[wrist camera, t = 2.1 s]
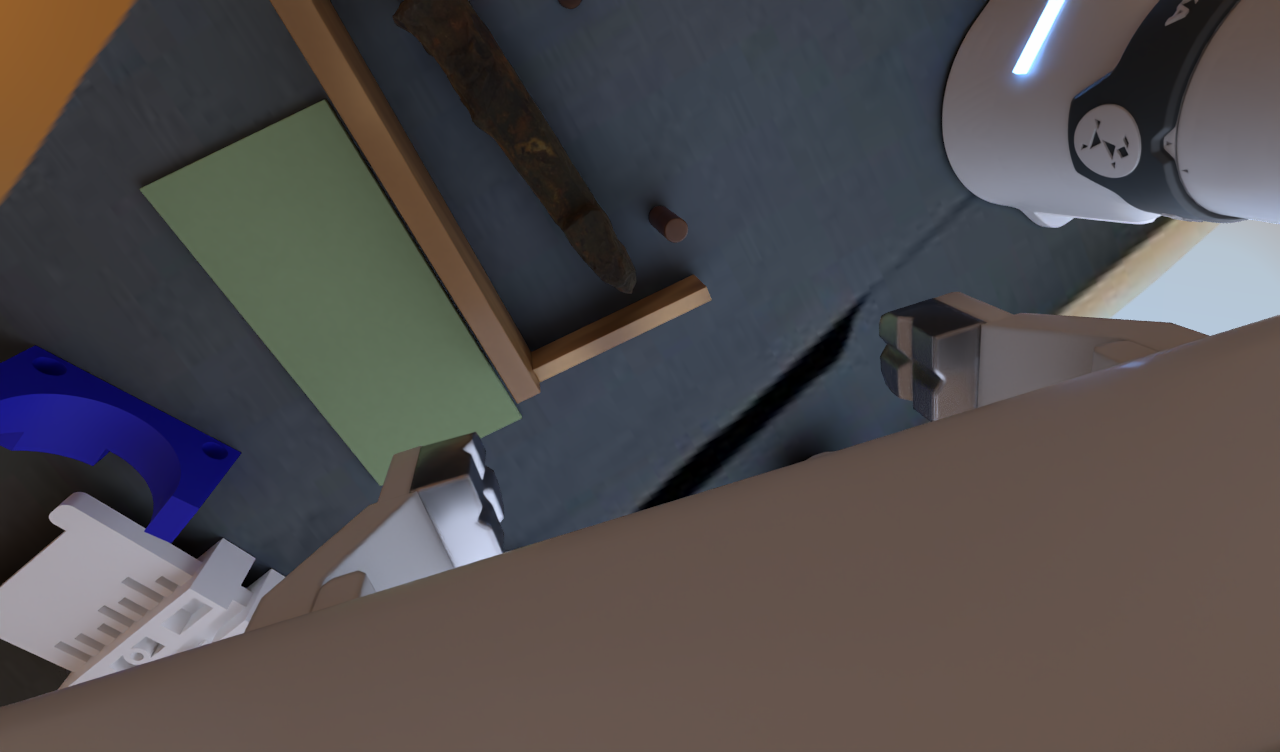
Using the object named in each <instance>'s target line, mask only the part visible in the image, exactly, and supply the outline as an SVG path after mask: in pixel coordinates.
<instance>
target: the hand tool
mask: <svg viewBox="0 0 1280 752" xmlns="http://www.w3.org/2000/svg"><path fill="white" fill-rule="evenodd" d="M393 20H394V22H395V24H396V25H397V26H399V27H401V28H403V29H404V30H406V31H408V32H410V33H412V34H413V35H414V36H415V37H416V38H417V39H418V40H419V41H420V42H421V44H422V45H423V47H424V49H425V50H426V52H427V53H428V54H429V55H431V56H433V57H434V58H435V59H436V61H437V62H438V63H439V65H440V66H441V68H442V70H443V71H444V72H445V74H446V75H447V78H448V79H449V81H450V83H451V84H452V86H453V88H454V90H455V91H456V92H457V94H458V95H459V96H460V100H461V101H462V103H463V104H464V105H465V106H466V107H467V109H468V110H469V112H470V115H471V118H472V121H473V122H474V124H475V125H476V126H477V127H479V128H480V129H482V130H483V131H485V132H486V133H487V134H489V135H490V136H491V137H492V138H494V139H495V141H496V142H497V143H498V145H499V146H500V147H501V149H502V150H503V152H504V153H505V154H506V156H507V157H508V159H509V160H510V161H511V162H512V164H513V165H514V167H515V168H516V169H517V171H518V172H519V173H520V174H521V176H522V177H523V178H524V180H525V181H526V182H527V183H528V185H529V186H530V187H531V189H532V190H533V192H534V193H535V195H536V196H537V197H538V198H539V199H540V201H541V203H542V204H543V205H544V206H545V208H546V209H547V211H548V213H549V214H550V216H551V217H552V219H553V220H554V222H555V223H556V224H557V225H558V226H560V228H561V229H562V230H563V232H564V233H565V235H566V236H567V238H568V240H569V242H570V243H571V245H572V246H573V248H574V249H575V250H576V251H577V252H578V254H579V255H580V256H581V258H582V259H583V260H584V261H585V262H586V263H587V264H588V265H589V266H590V267H591V269H592V270H593V271H594V272H595V273H596V274H597V275H598V276H599V277H600V278H601V279H602V280H603V281H604V282H605V283H608V284H610V285H612V286H614V287H615V288H616V289H617V290H619V291H621V292H624V293H628V294H631V293H632V291H633V288H634V286H635V284H636V282H637V280H636V273H635V268H634V266H633V264H632V262H631V259H630V257H629V255H628V253H627V251H626V248H625V246H624V245H623V244H622V243H621V242H620V241H619V240H618V239H617V237H616V235H615V232H614V231H613V227H612V224H611V222H610V220H609V218H608V216H607V215H606V213H605V212H604V211H603V210H602V209H601V207H600V206H599V205H598V203H597V202H596V200H595V198H594V197H593V195H592V193H591V192H590V190H589V188H588V187H587V185H586V184H585V182H584V181H583V179H582V178H581V176H580V174H579V173H578V171H577V170H576V169H575V167H574V165H573V164H572V162H571V160H570V159H569V157H568V155H567V154H566V152H565V150H564V149H563V147H562V145H561V144H560V142H559V140H558V139H557V137H556V135H555V134H554V132H553V131H552V129H551V127H550V126H549V124H548V123H547V121H546V120H545V119H544V117H543V115H542V113H541V111H540V110H539V108H538V107H537V105H536V104H535V103H534V101H533V100H532V98H531V97H530V95H529V93H528V92H527V90H526V89H525V87H524V86H523V84H522V82H521V81H520V79H519V77H518V76H517V74H516V72H515V71H514V69H513V68H512V66H511V65H510V63H509V62H508V61H507V59H506V58H505V56H504V54H503V53H502V51H501V49H500V48H499V46H498V44H497V43H496V41H495V40H494V38H493V36H492V34H491V33H490V31H489V29H488V28H487V27H486V25H485V24H484V23H483V22H482V20H481V19H480V18H479V17H478V15H477V14H476V12H475V11H474V9H473V8H472V6H471V5H470V3H469V2H468V0H404V1H403V2H402V3H401V4H400V6H399V9H398V10H397V11H396V13H395V14H394V15H393Z"/></svg>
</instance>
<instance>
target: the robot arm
mask: <svg viewBox="0 0 1280 752" xmlns="http://www.w3.org/2000/svg"><path fill="white" fill-rule="evenodd" d="M942 131H943V140H944V145H945V150H946V153H947V156H948V159H949V162H950V164H951V166H952V169H953V170H954V172H955V174H956V176H957V177H958V178H959V180H960V181H961V182H962V184H963V185H964V186H965V187H966V188H967V189H968V190H969V191H971V192H972V193H973V194H975V195H976V196H978V197H979V198H981V199H983V200H986V201H988V202H991V203H995V204H999V205H1005V206H1010V207H1014V208H1017V209H1019V210H1021V211H1022V212H1023V213H1024V214H1025V215H1026V216H1027V217H1028V218H1029V219H1030V220H1032V221H1033V222H1034V223H1036V224H1037V225H1039V226H1043V227H1052V228H1057V227H1060V226H1062V225H1064V224H1066V223H1067V222H1069V221H1070V220H1072V219H1073V218H1082V219H1091V220H1101V221H1110V222H1120V223H1130V224H1146V223H1151V222H1153V221H1154V220H1155V219H1156V218H1157V217H1159V216H1161V215H1162V216H1165V217H1170V218H1172V219H1177V220H1184V221H1191V222H1192V221H1195V222H1203V221H1207V222H1216V223H1232V222H1239V221H1243V220H1248V219H1252V220H1257V221H1263V222H1269V223H1276V224H1280V0H990V1H989V2H988V4H987V5H986V7H985V8H984V9H983V11H982V12H981V14H980V15H979V16H978V18H977V19H976V21H975V22H974V23H973V25H972V27H971V28H970V30H969V31H968V33H967V35H966V37H965V38H964V40H963V42H962V44H961V46H960V48H959V50H958V52H957V55H956V57H955V59H954V62H953V65H952V68H951V70H950V74H949V77H948V80H947V85H946V89H945V94H944V100H943V110H942ZM879 336H880V337H881V338H882V339H883V341H884V342H885V343H886V344H887V345H886V347H885V349H884V350H883V352H882V354H881V356H880V361H881V372H882V375H883V377H884V380H885V383H886V385H887V386H888V387H889V389H890V390H891V391H892V392H893V393H894V394H895V395H896V396H898V397H899V398H902V399H906V400H911V401H913V409H914V410H916V411H917V412H918V413H920V414H921V415H922V416H924V417H925V418H926V419H928V420H929V421H930V422H929V423H926V424H923V425H920V426H916V427H913V428H910V429H907V430H903V431H900V432H897V433H894V434H890V435H887V436H884V437H881V438H877V439H874V440H871V441H868V442H864V443H861V444H858V445H855V446H851V447H848V448H845V449H842V450H838V451H835V452H832V453H828V454H825V455H822V456H819V457H815V458H812V459H809V460H806V461H802V462H799V463H796V464H793V465H789V466H786V467H783V468H779V469H776V470H773V471H770V472H766V473H763V474H760V475H757V476H753V477H750V478H747V479H744V480H740V481H737V482H734V483H731V484H727V485H724V486H721V487H717V488H714V489H711V490H708V491H704V492H701V493H698V494H695V495H691V496H688V497H685V498H682V499H678V500H675V501H672V502H668V503H665V504H662V505H659V506H655V507H652V508H649V509H646V510H642V511H639V512H636V513H633V514H629V515H626V516H623V517H619V518H616V519H613V520H610V521H606V522H603V523H600V524H597V525H593V526H590V527H587V528H584V529H580V530H577V531H574V532H570V533H567V534H564V535H561V536H557V537H554V538H551V539H548V540H544V541H541V542H538V543H535V544H531V545H528V546H525V547H521V548H518V549H515V550H512V551H508V552H505V553H503V549H504V532H503V530H502V527H501V525H500V522H501V521H502V519H503V518H504V505H503V499H502V493H501V490H500V487H499V483H498V480H497V478H496V475H495V473H494V470H492V469H490V468H489V467H487V466H485V460H486V450H485V448H484V446H483V443H482V441H481V439H480V436H479V435H478V434H477V433H476V432H472V433H468V434H465V435H461V436H457V437H453V438H450V439H446V440H442V441H439V442H435V443H431V444H428V445H424V446H418V447H415V448H412V449H409V450H406V451H403V452H400V453H397V454H394V455H393V457H392V460H391V463H390V466H389V469H388V472H387V475H386V478H385V481H384V484H383V487H382V490H381V493H380V496H379V499H378V502H377V503H375V504H371V505H369V506H368V507H366V508H365V509H364V510H363V511H362V512H361V513H359V514H358V515H357V516H356V517H355V518H354V519H352V520H351V521H350V522H349V523H348V524H347V525H345V526H344V527H343V528H342V529H341V530H340V531H338V532H337V533H336V534H335V535H334V536H333V537H332V538H330V539H329V540H328V541H327V542H326V543H325V544H323V545H322V546H321V547H320V548H319V549H318V550H316V551H315V552H314V553H313V554H312V555H311V556H309V557H308V558H307V559H306V560H305V561H304V562H302V563H301V564H300V565H299V566H298V567H297V568H296V569H294V570H293V571H292V572H291V573H290V574H289V575H287V576H286V577H285V578H284V579H283V580H282V581H280V582H279V583H278V584H277V585H276V586H275V587H273V588H272V589H271V590H270V591H269V592H268V593H266V594H265V595H264V596H263V597H262V598H261V600H260V602H259V604H258V606H257V608H256V610H255V612H254V614H253V616H252V618H251V620H250V621H249V623H248V625H247V627H246V629H245V631H244V633H242V634H239V635H235V636H232V637H229V638H226V639H222V640H219V641H216V642H213V643H209V644H206V645H203V646H200V647H196V648H193V649H190V650H187V651H183V652H180V653H177V654H174V655H170V656H167V657H164V658H160V659H157V660H154V661H151V662H147V663H144V664H141V665H138V666H134V667H131V668H128V669H125V670H121V671H118V672H115V673H112V674H108V675H105V676H102V677H99V678H95V679H92V680H89V681H86V682H82V683H79V684H76V685H73V686H69V687H66V688H63V689H59V690H56V691H53V692H50V693H46V694H43V695H40V696H37V697H33V698H30V699H27V700H24V701H20V702H17V703H14V704H10V705H6V706H3V707H0V752H1280V315H1277V316H1274V317H1271V318H1268V319H1264V320H1261V321H1258V322H1255V323H1251V324H1248V325H1245V326H1242V327H1239V328H1235V329H1232V330H1229V331H1225V332H1222V333H1219V334H1216V335H1212V336H1209V335H1205V334H1202V333H1200V332H1197V331H1194V330H1191V329H1188V328H1185V327H1182V326H1179V325H1176V324H1173V323H1165V322H1151V321H1136V320H1121V319H1106V318H1091V317H1076V316H1061V315H1046V314H1031V313H1019V314H1016V315H1013V314H1011V313H1008V312H1006V311H1003V310H1001V309H999V308H996V307H994V306H991V305H989V304H987V303H984V302H982V301H980V300H977V299H975V298H972V297H970V296H968V295H965V294H963V293H960V292H951V293H948V294H945V295H942V296H939V297H936V298H932V299H928V300H925V301H922V302H919V303H916V304H913V305H909V306H906V307H903V308H900V309H897V310H893V311H890V312H888V313H886V314H884V315H882V316H881V319H880V323H879Z"/></svg>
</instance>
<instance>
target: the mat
mask: <svg viewBox="0 0 1280 752" xmlns="http://www.w3.org/2000/svg"><path fill="white" fill-rule="evenodd" d="M140 191H141V192H142V193H143V194H144V196H145V197H146V198H147V199H148V200H149V202H150V203H151V204H152V205H153V207H154V208H155V209H156V210H157V212H158V213H159V214H160V215H161V217H162V218H163V219H164V220H165V221H166V223H167V224H168V225H169V226H170V228H171V229H172V230H173V231H174V233H175V234H176V235H177V236H178V237H179V239H180V240H181V241H182V242H183V244H184V245H185V246H186V247H187V249H188V250H189V251H190V252H191V253H192V255H193V256H194V257H195V258H196V260H197V261H198V262H199V263H200V265H201V266H202V267H203V268H204V269H205V271H206V272H207V273H208V274H209V276H210V277H211V278H212V279H213V281H214V282H215V283H216V284H217V286H218V287H219V288H220V289H221V290H222V292H223V293H224V294H225V295H226V297H227V298H228V299H229V300H230V302H231V303H232V304H233V305H234V306H235V308H236V309H237V310H238V311H239V313H240V314H241V315H242V316H243V318H244V319H245V320H246V321H247V322H248V324H249V325H250V326H251V327H252V329H253V330H254V331H255V332H256V334H257V335H258V336H259V337H260V338H261V340H262V341H263V342H264V343H265V345H266V346H267V347H268V348H269V350H270V351H271V352H272V353H273V354H274V356H275V357H276V358H277V359H278V361H279V362H280V363H281V364H282V366H283V367H284V368H285V369H286V371H287V372H288V373H289V374H290V375H291V377H292V378H293V379H294V380H295V382H296V383H297V384H298V385H299V387H300V388H301V389H302V390H303V391H304V393H305V394H306V395H307V396H308V398H309V399H310V400H311V401H312V403H313V404H314V405H315V406H316V407H317V409H318V410H319V411H320V412H321V414H322V415H323V416H324V417H325V419H326V420H327V421H328V422H329V423H330V425H331V426H332V427H333V428H334V430H335V431H336V432H337V433H338V435H339V436H340V437H341V438H342V439H343V441H344V442H345V443H346V444H347V446H348V447H349V448H350V449H351V451H352V452H353V453H354V454H355V456H356V457H357V458H358V459H359V460H360V462H361V463H362V464H363V465H364V467H365V468H366V469H367V470H368V472H369V473H370V474H371V475H372V476H373V478H374V479H375V480H376V481H377V483H378V484H379V485H380V486H381V485H383V484H384V481H385V478H386V475H387V472H388V469H389V466H390V463H391V460H392V457H393V455H394V454H397V453H400V452H403V451H406V450H409V449H412V448H415V447H418V446H424V445H428V444H431V443H435V442H439V441H442V440H446V439H450V438H453V437H457V436H461V435H465V434H468V433H472V432H476V433H477V434H478V435H479V436H480V438H482V437H484V436H486V435H488V434H490V433H492V432H494V431H496V430H498V429H501V428H503V427H505V426H507V425H509V424H511V423H513V422H515V421H517V420H519V419H521V418H522V415H521V414H520V412H519V411H518V409H517V407H516V406H515V404H514V402H513V401H512V399H511V398H510V396H509V394H508V393H507V391H506V389H505V388H504V386H503V385H502V383H501V381H500V380H499V378H498V376H497V375H496V373H495V372H494V370H493V368H492V367H491V365H490V364H489V362H488V360H487V359H486V357H485V355H484V354H483V352H482V351H481V349H480V347H479V346H478V344H477V342H476V341H475V339H474V338H473V336H472V334H471V333H470V331H469V330H468V328H467V326H466V325H465V323H464V321H463V320H462V318H461V317H460V315H459V313H458V312H457V310H456V308H455V307H454V305H453V304H452V302H451V300H450V299H449V297H448V295H447V294H446V292H445V291H444V289H443V287H442V286H441V284H440V283H439V281H438V279H437V278H436V276H435V274H434V273H433V271H432V270H431V268H430V266H429V265H428V263H427V261H426V260H425V258H424V257H423V255H422V253H421V252H420V250H419V249H418V247H417V245H416V244H415V242H414V240H413V239H412V237H411V236H410V234H409V232H408V231H407V229H406V227H405V226H404V224H403V223H402V221H401V219H400V218H399V216H398V214H397V213H396V211H395V210H394V208H393V206H392V205H391V203H390V202H389V200H388V198H387V197H386V195H385V193H384V192H383V190H382V189H381V187H380V185H379V184H378V182H377V180H376V179H375V177H374V176H373V174H372V172H371V171H370V169H369V168H368V166H367V164H366V163H365V161H364V159H363V158H362V156H361V155H360V153H359V151H358V150H357V148H356V146H355V145H354V143H353V142H352V140H351V138H350V137H349V135H348V133H347V132H346V130H345V129H344V127H343V125H342V124H341V122H340V121H339V119H338V117H337V116H336V114H335V112H334V111H333V109H332V108H331V106H330V104H329V103H328V101H327V100H326V99H325V100H322V101H320V102H318V103H316V104H314V105H311V106H309V107H307V108H305V109H303V110H301V111H299V112H297V113H295V114H293V115H291V116H289V117H287V118H285V119H283V120H280V121H278V122H276V123H274V124H272V125H270V126H268V127H266V128H264V129H262V130H260V131H258V132H256V133H254V134H252V135H249V136H247V137H245V138H243V139H241V140H239V141H237V142H235V143H233V144H231V145H229V146H227V147H225V148H223V149H221V150H218V151H216V152H214V153H212V154H210V155H208V156H206V157H204V158H202V159H200V160H198V161H196V162H194V163H192V164H190V165H187V166H185V167H183V168H181V169H179V170H177V171H175V172H173V173H171V174H169V175H167V176H165V177H163V178H161V179H159V180H157V181H154V182H152V183H150V184H148V185H146V186H144V187H142V188H140Z"/></svg>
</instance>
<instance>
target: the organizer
mask: <svg viewBox="0 0 1280 752" xmlns="http://www.w3.org/2000/svg"><path fill="white" fill-rule="evenodd" d="M49 519H50V521H51V522H52V523H53V524H55V525H56V526H58V527H60V528H62V529H64V530H65V531H64V532H63V533H62V534H60V535H59V536H58V537H57V538H56V539H55V540H53V541H52V542H51V543H50V544H49V545H48V546H46V547H45V548H44V549H43V550H42V551H40V552H39V553H38V554H37V555H36V556H35V557H33V558H32V559H31V560H30V561H29V562H28V563H26V564H25V565H24V566H23V567H22V568H21V569H19V570H18V571H17V572H16V573H15V574H13V575H12V576H11V577H10V578H9V579H8V580H6V581H5V582H4V583H3V584H2V585H1V586H0V639H3V640H5V641H7V642H9V643H11V644H13V645H16V646H18V647H20V648H22V649H24V650H26V651H28V652H31V653H33V654H35V655H37V656H39V657H41V658H44V659H46V660H48V661H50V662H52V663H54V664H57V665H59V666H61V667H63V668H65V669H67V670H70V671H72V672H71V673H70V674H69V676H68V677H67V678H66V680H65V681H64V682H63V684H62V685H61V686H60V688H59V689H63V688H66V687H69V686H73V685H76V684H79V683H82V682H86V681H89V680H92V679H95V678H99V677H102V676H105V675H108V674H112V673H115V672H118V671H121V670H125V669H128V668H131V667H134V666H138V665H141V664H144V663H147V662H151V661H154V660H157V659H160V658H164V657H167V656H170V655H174V654H177V653H180V652H183V651H187V650H190V649H193V648H196V647H200V646H203V645H206V644H209V643H213V642H216V641H219V640H222V639H226V638H229V637H232V636H235V635H239V634H242V633H244V631H245V629H246V627H247V625H248V623H249V621H250V620H251V618H252V616H253V614H254V612H255V610H256V608H257V606H258V604H259V602H260V600H261V598H262V597H263V596H264V595H265V594H266V593H268V592H269V591H270V590H271V589H272V588H273V587H275V586H276V585H277V584H278V583H279V582H280V581H282V580H283V579H284V578H285V577H284V576H283V575H281V574H280V573H278V572H276V571H275V570H273V569H270V570H269V571H268V572H266V573H265V574H264V575H263V576H261V577H260V578H259V579H258V580H256V581H255V582H254V583H253V584H251V585H250V586H249V587H248V588H244V587H243V586H241V584H242V582H243V581H244V579H245V577H246V575H247V573H248V572H249V570H250V568H251V566H252V564H253V563H254V561H255V559H256V558H254V557H253V556H251V555H249V554H248V553H246V552H245V551H243V550H241V549H240V548H238V547H237V546H235V545H233V544H232V543H230V542H229V541H227V540H226V539H224V538H222V539H221V540H220V541H218V542H217V543H216V544H215V545H214V546H212V547H211V548H210V549H209V550H207V551H206V552H205V553H204V554H202V555H201V556H200V557H199V558H198V559H196V558H194V557H192V556H191V555H189V554H187V553H186V552H184V551H182V550H181V549H179V548H177V547H175V546H174V545H172V544H170V543H169V542H167V541H164V540H162V539H160V538H157V537H155V536H153V535H151V534H148V533H146V532H144V531H145V528H144V527H142V526H140V525H139V524H137V523H135V522H134V521H132V520H130V519H129V518H127V517H125V516H124V515H122V514H120V513H119V512H117V511H115V510H114V509H112V508H110V507H109V506H107V505H105V504H104V503H102V502H100V501H99V500H97V499H95V498H94V497H92V496H90V495H89V494H87V493H84V492H75V493H73V494H71V495H70V496H69V497H68V498H67V499H66V500H64V501H63V502H62V503H61V504H60V505H59V506H58V507H57V508H56V509H54V510H53V511H52V512H51V513H50V514H49ZM59 689H58V690H59Z"/></svg>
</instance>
